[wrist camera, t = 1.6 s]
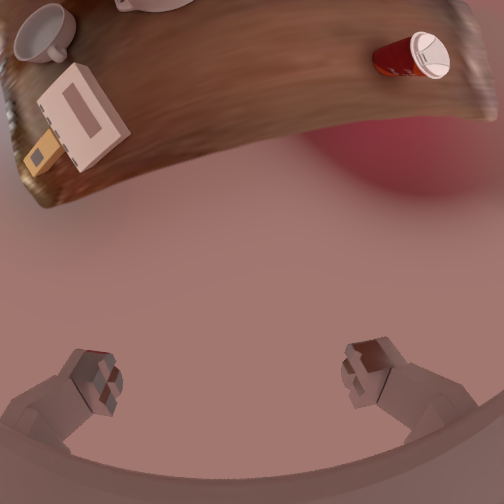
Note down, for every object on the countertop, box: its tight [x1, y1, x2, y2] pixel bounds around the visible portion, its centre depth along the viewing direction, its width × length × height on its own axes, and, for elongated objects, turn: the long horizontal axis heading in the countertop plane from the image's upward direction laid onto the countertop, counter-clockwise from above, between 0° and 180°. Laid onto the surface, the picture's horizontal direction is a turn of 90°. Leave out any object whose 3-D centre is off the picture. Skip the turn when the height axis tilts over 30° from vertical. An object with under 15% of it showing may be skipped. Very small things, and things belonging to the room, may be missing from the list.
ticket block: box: [37, 63, 131, 173], centre depth 32 cm, size 16×9×5 cm, turn 30°
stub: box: [23, 128, 66, 177], centre depth 33 cm, size 4×8×5 cm, turn 120°
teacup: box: [14, 3, 76, 63], centre depth 22 cm, size 14×11×8 cm
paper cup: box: [373, 32, 450, 79], centre depth 28 cm, size 8×8×14 cm
